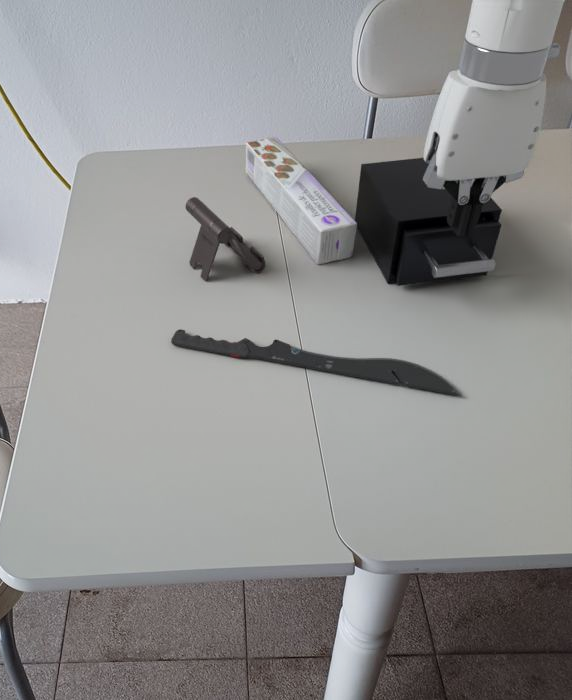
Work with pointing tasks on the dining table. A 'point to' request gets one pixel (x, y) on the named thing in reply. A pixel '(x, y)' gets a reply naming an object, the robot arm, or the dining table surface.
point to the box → (301, 201)
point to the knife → (324, 362)
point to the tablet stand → (218, 240)
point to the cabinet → (400, 207)
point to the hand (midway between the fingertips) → (460, 229)
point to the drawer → (445, 252)
